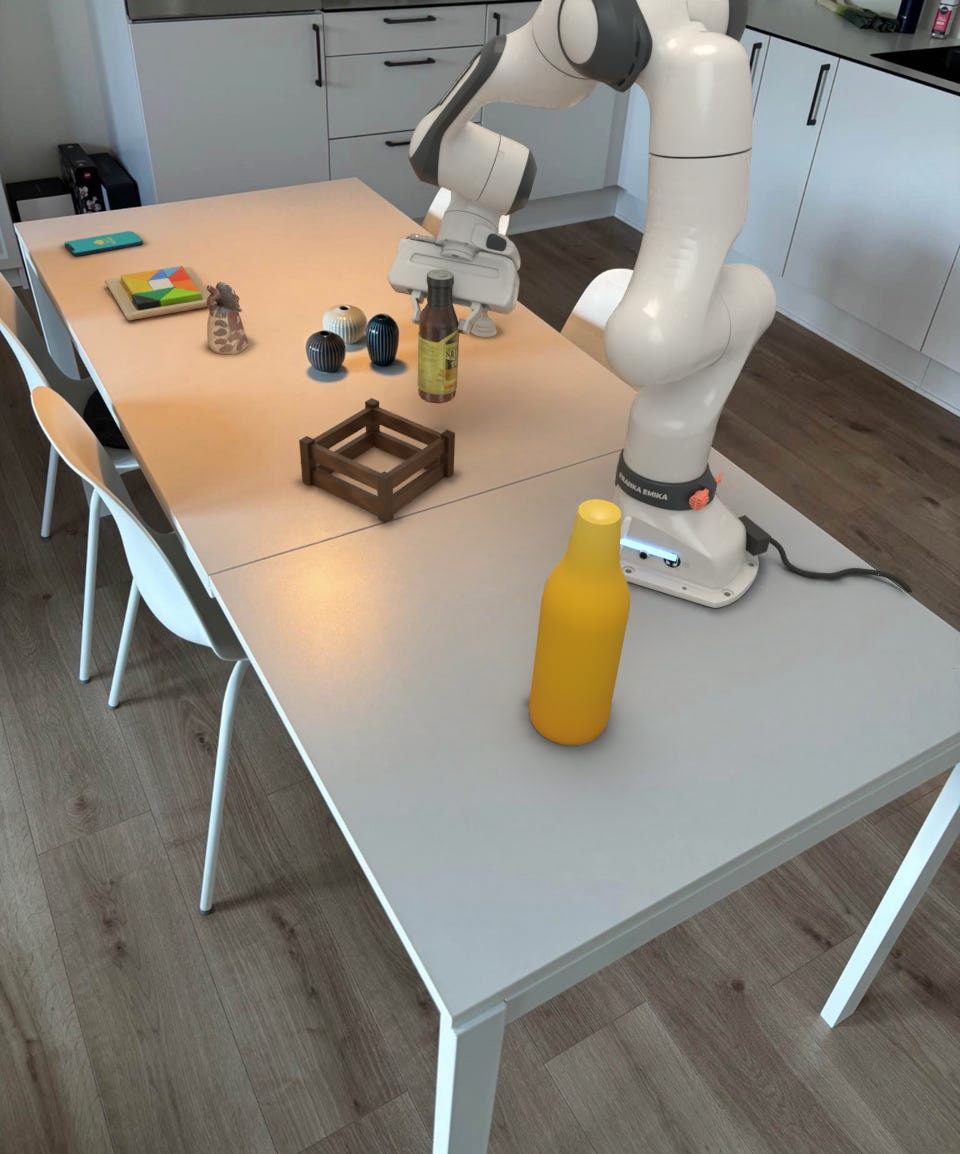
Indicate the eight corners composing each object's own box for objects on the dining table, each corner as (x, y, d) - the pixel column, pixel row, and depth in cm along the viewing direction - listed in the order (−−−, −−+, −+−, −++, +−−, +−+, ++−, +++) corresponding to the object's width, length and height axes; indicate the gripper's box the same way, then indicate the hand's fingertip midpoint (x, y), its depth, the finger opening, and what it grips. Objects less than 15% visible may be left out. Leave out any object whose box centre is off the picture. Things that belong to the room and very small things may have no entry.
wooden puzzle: (130, 324, 183) (126, 307, 181) (104, 287, 195) (101, 270, 193) (220, 308, 190) (218, 291, 188) (190, 273, 203) (187, 256, 200)
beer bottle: (529, 747, 108) (554, 539, 90) (526, 686, 115) (548, 482, 97) (612, 749, 108) (654, 542, 90) (603, 689, 115) (641, 486, 97)
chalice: (496, 321, 192) (501, 230, 180) (507, 337, 187) (514, 244, 175) (460, 325, 190) (464, 233, 178) (471, 340, 185) (475, 247, 173)
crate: (453, 474, 149) (455, 432, 145) (386, 523, 139) (385, 479, 134) (372, 438, 156) (371, 397, 151) (302, 482, 146) (298, 440, 141)
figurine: (253, 351, 177) (246, 287, 170) (214, 357, 175) (205, 293, 167) (242, 334, 182) (235, 272, 174) (204, 340, 180) (195, 277, 172)
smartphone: (143, 240, 213) (74, 252, 205) (144, 244, 213) (74, 256, 206) (131, 230, 217) (63, 241, 210) (132, 233, 218) (63, 245, 210)
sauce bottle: (451, 408, 153) (456, 286, 140) (413, 402, 153) (413, 281, 141) (460, 388, 158) (465, 269, 145) (423, 383, 158) (424, 264, 146)
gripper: (397, 221, 149) (371, 306, 148) (524, 245, 144) (498, 333, 143) (408, 241, 155) (383, 322, 154) (530, 264, 150) (506, 348, 149)
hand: (440, 328), depth 148 cm, fingers closed on sauce bottle, 6 cm apart
